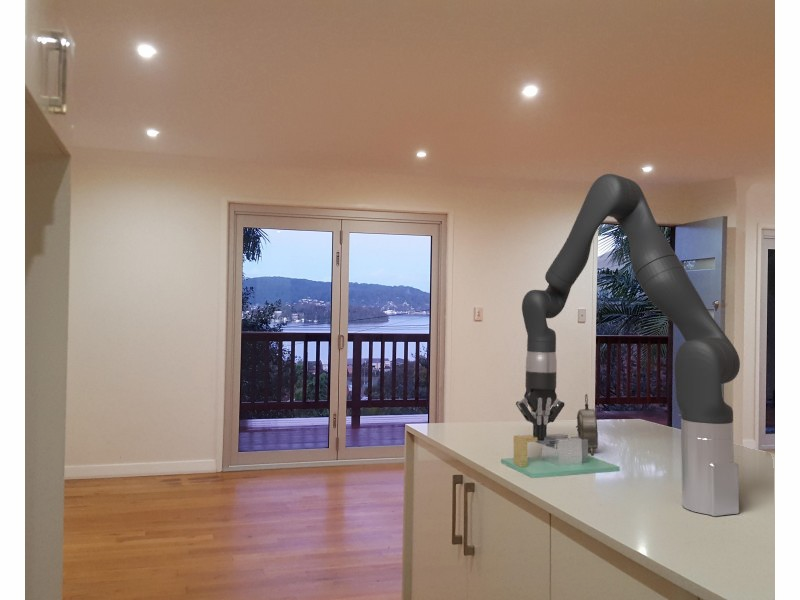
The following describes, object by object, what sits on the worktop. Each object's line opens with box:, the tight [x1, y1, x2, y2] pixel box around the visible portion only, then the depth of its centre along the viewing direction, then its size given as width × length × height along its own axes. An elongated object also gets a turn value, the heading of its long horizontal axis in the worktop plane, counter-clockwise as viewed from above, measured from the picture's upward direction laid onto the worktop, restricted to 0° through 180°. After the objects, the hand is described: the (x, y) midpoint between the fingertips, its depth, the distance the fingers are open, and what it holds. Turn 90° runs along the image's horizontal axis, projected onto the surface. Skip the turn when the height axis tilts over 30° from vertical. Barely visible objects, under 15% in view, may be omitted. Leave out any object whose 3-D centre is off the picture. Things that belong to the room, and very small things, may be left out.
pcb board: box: [500, 455, 621, 479], centre depth 156 cm, size 16×24×1 cm, turn 108°
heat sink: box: [541, 433, 589, 467], centre depth 157 cm, size 8×10×6 cm
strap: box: [535, 439, 555, 445], centre depth 156 cm, size 3×12×1 cm, turn 107°
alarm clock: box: [575, 393, 599, 456], centre depth 174 cm, size 11×5×16 cm, turn 168°
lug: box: [513, 434, 537, 467], centre depth 153 cm, size 4×5×7 cm
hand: (539, 439), depth 154 cm, fingers closed
